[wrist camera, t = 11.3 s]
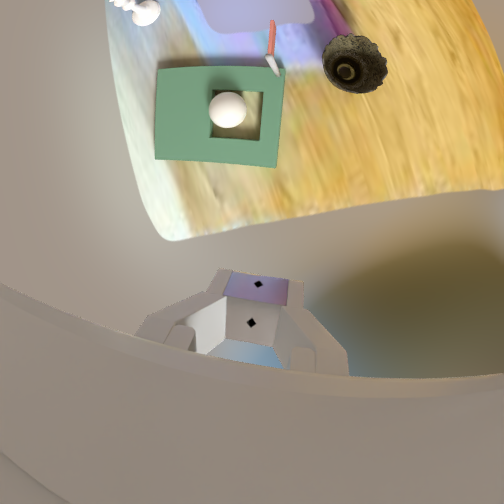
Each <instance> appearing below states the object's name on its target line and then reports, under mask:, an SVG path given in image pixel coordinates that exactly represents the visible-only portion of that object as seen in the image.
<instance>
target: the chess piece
mask: <svg viewBox="0 0 504 504" xmlns="http://www.w3.org/2000/svg"><path fill="white" fill-rule="evenodd" d="M112 1H114V5H115V6H117V7H120V6H122V8H123V10H125V11H127V10H130V9H131V10H133V14H132V20H133V22H134V23H135V24H137V25H139V26H146V25H149V24H151V23H152V22H154V21H155V20H156V19H157V17H158V16H159V14H160V10H161V7H160V5H159V3H158V2H156V1H153V0H147V1H144V2H142V3H140V4H139V5H138V4H135V0H109V2H112Z"/></svg>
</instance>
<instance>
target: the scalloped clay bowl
mask: <svg viewBox="0 0 504 504" xmlns="http://www.w3.org/2000/svg"><path fill="white" fill-rule="evenodd" d="M322 62H323V68H324V72H325V74H326V76H327V78H328V79H329V81H330V82H331V83H332V84H333V85H334V86H336V87H337V88H339V89H341V90H343V91H346V92H351V93H356V94H358V93H368V92H372V91H374V90H376V89H377V86H380V85H382V84H383V82H382V81H383V79H384V78H385V77H386V76H387V74H388V70H387V67H386V64H387V60H386V58H384V57H382V56H381V53H380V52H379V51H378V46H377V44H375V43H372V42H371V41H370V40H369V39H368V38H367V37H365V36H355V35H353V34H352V33H349V34H348V35H347V36H346V37H345V36H344V35H339V36H337V37H335V38H333V39H332V40H331V41H330V42H329V45H328V44H327V45H326V47H325V50H324V52H323V55H322ZM342 67H347V68H348V69H349V70H350V71H351V75H350V77H348V78H343V77H342V76H341V75H340V74H339V70H340V68H342Z"/></svg>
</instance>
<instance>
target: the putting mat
mask: <svg viewBox="0 0 504 504" xmlns="http://www.w3.org/2000/svg"><path fill="white" fill-rule="evenodd" d="M275 35H276V26H275V22H274V20H271V21H270V32H269V44H268V54H266V55H265V58H266V60H267V62H268V63H269V65H270V67H271V68H270V67H253V66H196V67H179V68H167V69H158V76H157V91H156V113H155V159H158V160H184V161H202V162H216V163H229V164H240V165H250V166H260V167H269V168H276V166H277V156H278V146H279V136H280V125H281V115H282V104H283V94H284V82H285V71H286V70H285V69H282V68H278V67H277V64H276V62H275V60H274V47H275ZM215 90H231V91H253V92H264V94H263V106H262V118H261V129H260V140H251V139H238V138H223V137H212V133H213V121H212V120H211V118H210V116H209V105H210V102H211V101H212V99H213V98H214V97H215Z"/></svg>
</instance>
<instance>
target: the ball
mask: <svg viewBox="0 0 504 504" xmlns="http://www.w3.org/2000/svg"><path fill="white" fill-rule="evenodd" d="M246 113H247V106H246V103H245V101H244V99H243V98H242V97H241V96H240V95H238V94H236V93H233V92H223V93H220V94H218V95H217V96H215V97H214V98H213V99H212V101H211V102H210V105H209V116H210V118H211V120H212V121H213V122H214V123H215V124H216V125H218V126H220V127H223V128H231V127H235V126H237V125H239V124H240V123H241V122H242V121H243V120H244V118H245V116H246Z"/></svg>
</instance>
